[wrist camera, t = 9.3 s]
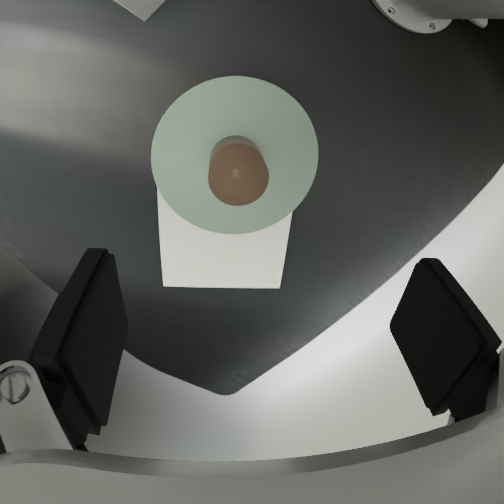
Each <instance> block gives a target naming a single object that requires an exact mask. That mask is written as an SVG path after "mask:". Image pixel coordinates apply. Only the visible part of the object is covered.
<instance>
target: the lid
mask: <svg viewBox="0 0 504 504" xmlns="http://www.w3.org/2000/svg"><path fill="white" fill-rule="evenodd" d="M151 165H152V172H153V176H154V180H155V182H156V185H157V187H158V190H159V191H160V193H161V195H162V197H163V198H164V200H165V201H166V202H167V204H168V205H169V206H170V207H171V208H172V209H173V210H174V211H175V212H176V213H177V214H178V215H179V216H180V217H182V218H183V219H184V220H186V221H188V222H189V223H191V224H193V225H195V226H197V227H199V228H201V229H204V230H207V231H211V232H215V233H221V234H245V233H251V232H255V231H259V230H262V229H264V228H267V227H269V226H272V225H273V224H275V223H277V222H279V221H281V220H282V219H283V218H285V217H286V216H288V215H289V214H290V213H291V212H292V211H293V210H294V209H295V208H296V207H297V206H298V205H299V204H300V203H301V202H302V200H303V199H304V197H305V196H306V194H307V193H308V191H309V189H310V187H311V185H312V183H313V180H314V177H315V174H316V170H317V165H318V143H317V138H316V133H315V130H314V128H313V125H312V123H311V121H310V119H309V117H308V115H307V113H306V112H305V111H304V109H303V108H302V106H301V105H300V104H299V103H298V102H297V101H296V100H295V99H294V98H293V97H292V96H291V95H289V94H288V93H287V92H286V91H284V90H282V89H281V88H279V87H277V86H276V85H274V84H271V83H269V82H266V81H264V80H260V79H256V78H252V77H245V76H226V77H219V78H215V79H211V80H208V81H205V82H203V83H201V84H198V85H196V86H195V87H193V88H191V89H190V90H188V91H186V92H185V93H184V94H182V95H181V96H180V97H179V98H178V99H176V100H175V101H174V103H173V104H172V105H171V106H170V107H169V108H168V109H167V111H166V112H165V114H164V115H163V117H162V118H161V120H160V122H159V124H158V126H157V129H156V132H155V135H154V138H153V143H152V148H151Z"/></svg>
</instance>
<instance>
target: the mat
mask: <svg viewBox="0 0 504 504" xmlns="http://www.w3.org/2000/svg"><path fill="white" fill-rule="evenodd" d="M157 195H158V218H159V236H160V251H161V264H162V276H163V286H169V287H210V288H280V284H281V278H282V272H283V266H284V260H285V254H286V248H287V242H288V236H289V230H290V223H291V217H292V212H291V213H290V214H289V215H288V216H286V217H285V218H283V219H282V220H281V221H279V222H277V223H275V224H273V225H272V226H269V227H267V228H264V229H262V230H259V231H255V232H251V233H245V234H221V233H215V232H211V231H207V230H204V229H201V228H199V227H197V226H195V225H193V224H191V223H189V222H188V221H186V220H184V219H183V218H182V217H180V216H179V215H178V214H177V213H176V212H175V211H174V210H173V209H172V208H171V207H170V206H169V205H168V204H167V202H166V201H165V200H164V198H163V197H162V195H161V193H160V191H159V190H158V187H157Z"/></svg>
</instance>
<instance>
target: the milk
mask: <svg viewBox="0 0 504 504" xmlns="http://www.w3.org/2000/svg"><path fill="white" fill-rule="evenodd" d="M114 1H115V2H117V3H118V4H120V5H121V6H123V7H124V8H126V9H127V10H129V11H130V12H131V13H133V14H134V15H136V16H137V17H139V18H140V19H141V20H143V21H144V22H145V21H146V20H147V19H148V18H149V17H150V16H151V15H152V14H153V13H154V12H155V11H156V10H157V9H158V8H159V6H160V5H161V4H162V3H163V2H164V1H165V0H114Z"/></svg>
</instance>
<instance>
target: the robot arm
mask: <svg viewBox="0 0 504 504" xmlns="http://www.w3.org/2000/svg"><path fill="white" fill-rule="evenodd" d="M371 1H372V2H373V4H374V5H375V6H376V8H377V9H378V10H379V11H380V12H381V13H382V14H383V15H384V16H385V17H386V18H387V19H389V20H390V21H391V22H393V23H394V24H396V25H397V26H399V27H401V28H403V29H405V30H408V31H411V32H415V33H424V34H425V33H435V32H438V31H441V30H442V29H444V28H446V27H447V26H448V25H449V24H450V23H451V21H452V19H463V20H464V19H468V20H469V21H470V22H472V23H474V24H475V25H477V26H479V27H481V28H484V27H486V25H487V23H488V20H487V19H504V0H371ZM388 10H389V12H388ZM390 330H391V333H392V335H393V337H394V339H395V341H396V343H397V345H398V347H399V349H400V351H401V353H402V355H403V357H404V360H405V362H406V364H407V366H408V368H409V370H410V372H411V374H412V376H413V379H414V381H415V383H416V385H417V387H418V390H419V392H420V394H421V396H422V399H423V400H424V403H425V405H426V407H427V408H429V409H430V411H431V413H432V415H433V416H436V415H439V414H442V413H445V412H446V411H447V410H448V409H449V410H450V412H451V413H450V416H449V420H448V424H447V426H444V427H441V428H438V429H434V430H431V431H428V432H425V433H421V434H417V435H414V436H410V437H406V438H402V439H398V440H394V441H390V442H386V443H382V444H377V445H372V446H368V447H363V448H358V449H352V450H347V451H341V452H335V453H328V454H321V455H313V456H305V457H296V458H286V459H274V460H259V461H230V462H208V461H207V462H206V461H179V460H160V459H147V458H137V457H127V456H119V455H111V454H102V453H94V452H89V450H88V449H87V447H86V446H85V444H84V442H85V441H86V439H87V434H88V433H89V434H95V435H100V430H101V426H106V424H107V422H108V416H109V411H110V406H111V401H112V396H113V391H114V387H115V382H116V378H117V373H118V369H119V365H120V360H121V356H122V352H123V348H124V344H125V340H126V336H127V331H128V322H127V318H126V313H125V309H124V304H123V299H122V294H121V289H120V284H119V279H118V274H117V268H116V262H115V257H114V255H113V254H109V252H108V250H107V249H104V248H88V249H87V250H86V251H85V253H84V255H83V257H82V258H81V260H80V262H79V264H78V265H77V267H76V269H75V271H74V272H73V274H72V276H71V278H70V280H69V282H68V283H67V285H66V287H65V289H64V291H63V292H61V293H60V294H59V295H58V297H57V299H56V301H55V302H54V304H53V306H52V308H51V310H50V312H49V314H48V316H47V318H46V320H45V322H44V324H43V326H42V329H41V331H40V333H39V335H38V337H37V339H36V341H35V344H34V346H33V348H32V350H31V353H30V355H29V357H28V360H27V362H23V361H10V362H7V363H4V364H3V365H1V366H0V504H504V348H503V349H502V350H501V351H500V353H499V354H498V353H497V351H496V350H497V349H498V347H499V346H500V345H501V343H502V341H501V340H500V338H499V337H498V335H497V334H496V333H495V331H494V330H493V328H492V327H491V325H490V324H489V323H488V321H487V320H486V318H485V317H484V316H483V314H482V313H481V312H480V310H479V309H478V308H477V306H476V305H475V304H474V302H473V301H472V300H471V298H470V297H469V296H468V295H467V293H466V292H465V291H464V289H463V288H462V287H461V286H460V285H459V283H458V282H457V281H456V279H455V278H454V277H453V276H452V274H451V273H450V272H449V271H448V270H447V268H446V267H445V266H444V265H443V264H442V263H441V261H440V260H439V259H437V258H422V259H421V260H420V261H419V262H418V263H417V264H416V265H415V267H414V270H413V272H412V274H411V277H410V279H409V282H408V284H407V287H406V289H405V291H404V293H403V296H402V298H401V300H400V302H399V305H398V307H397V309H396V311H395V313H394V315H393V318H392V320H391V323H390Z"/></svg>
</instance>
